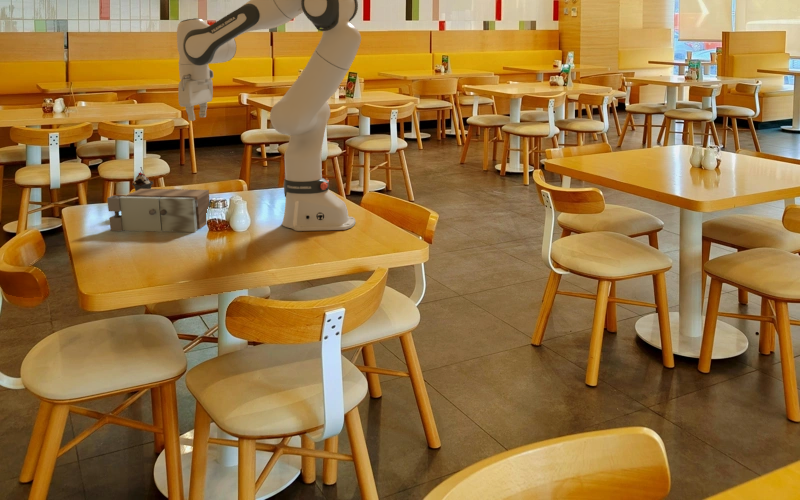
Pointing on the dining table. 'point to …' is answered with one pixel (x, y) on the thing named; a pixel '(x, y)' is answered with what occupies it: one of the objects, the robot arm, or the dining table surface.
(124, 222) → the door
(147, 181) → the sundae
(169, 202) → the cabinet
